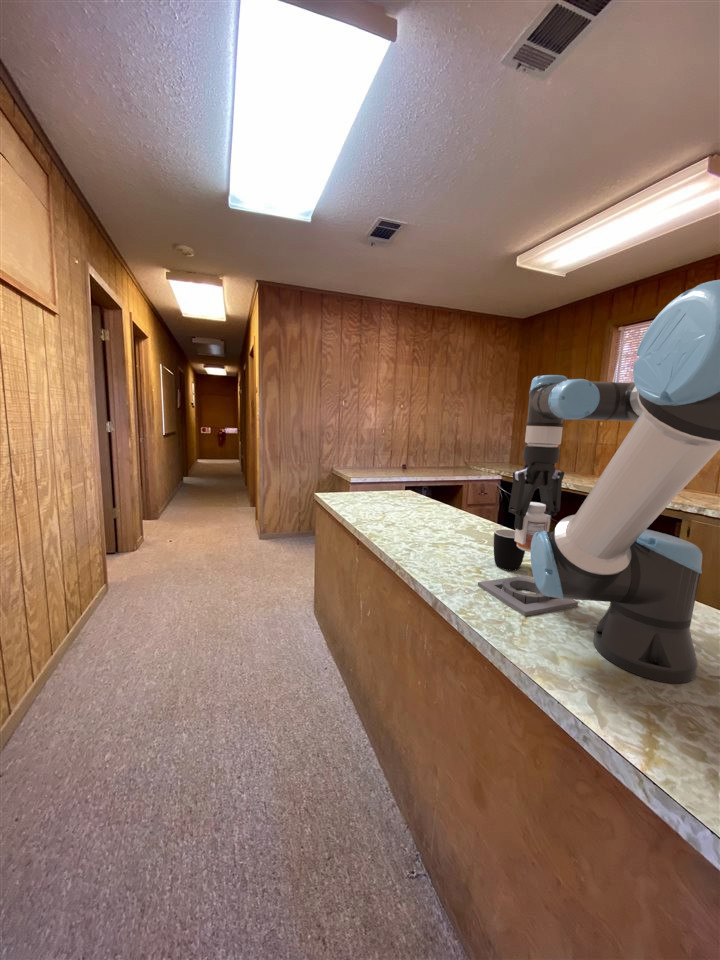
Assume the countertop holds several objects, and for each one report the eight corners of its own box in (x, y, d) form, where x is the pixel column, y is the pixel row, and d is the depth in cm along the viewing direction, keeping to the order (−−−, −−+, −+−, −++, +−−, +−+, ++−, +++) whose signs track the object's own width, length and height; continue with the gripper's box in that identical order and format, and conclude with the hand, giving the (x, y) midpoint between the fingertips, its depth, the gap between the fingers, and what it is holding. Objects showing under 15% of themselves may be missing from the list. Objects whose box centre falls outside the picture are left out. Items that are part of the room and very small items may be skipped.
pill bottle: (524, 542, 96) (528, 500, 94) (548, 550, 91) (554, 504, 89) (511, 547, 92) (516, 502, 90) (536, 555, 87) (542, 508, 85)
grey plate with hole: (577, 605, 88) (578, 597, 88) (524, 616, 83) (525, 606, 82) (525, 578, 103) (526, 571, 103) (477, 585, 97) (478, 577, 97)
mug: (529, 573, 107) (533, 538, 106) (497, 572, 107) (501, 537, 105) (512, 558, 119) (515, 526, 117) (483, 556, 119) (486, 525, 117)
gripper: (559, 444, 94) (548, 533, 98) (497, 443, 87) (488, 539, 91) (586, 446, 87) (573, 543, 91) (522, 446, 80) (510, 550, 84)
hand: (531, 541), depth 91 cm, fingers closed on pill bottle, 6 cm apart
